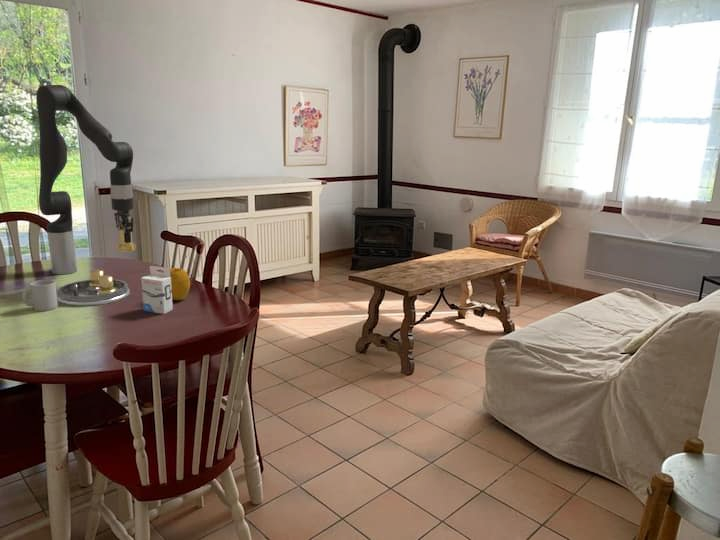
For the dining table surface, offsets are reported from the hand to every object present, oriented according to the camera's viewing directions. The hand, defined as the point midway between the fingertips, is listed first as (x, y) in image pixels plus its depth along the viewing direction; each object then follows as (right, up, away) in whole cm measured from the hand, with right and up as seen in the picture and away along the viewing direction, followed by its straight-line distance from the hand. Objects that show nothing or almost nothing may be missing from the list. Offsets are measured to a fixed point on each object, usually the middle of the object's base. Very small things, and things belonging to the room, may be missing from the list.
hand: (125, 241), depth 209 cm
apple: (+24, -22, -12) cm, 34 cm away
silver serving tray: (-7, -20, -11) cm, 24 cm away
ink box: (+21, -25, -25) cm, 41 cm away
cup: (-17, -24, -26) cm, 39 cm away
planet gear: (0, -3, +1) cm, 3 cm away
